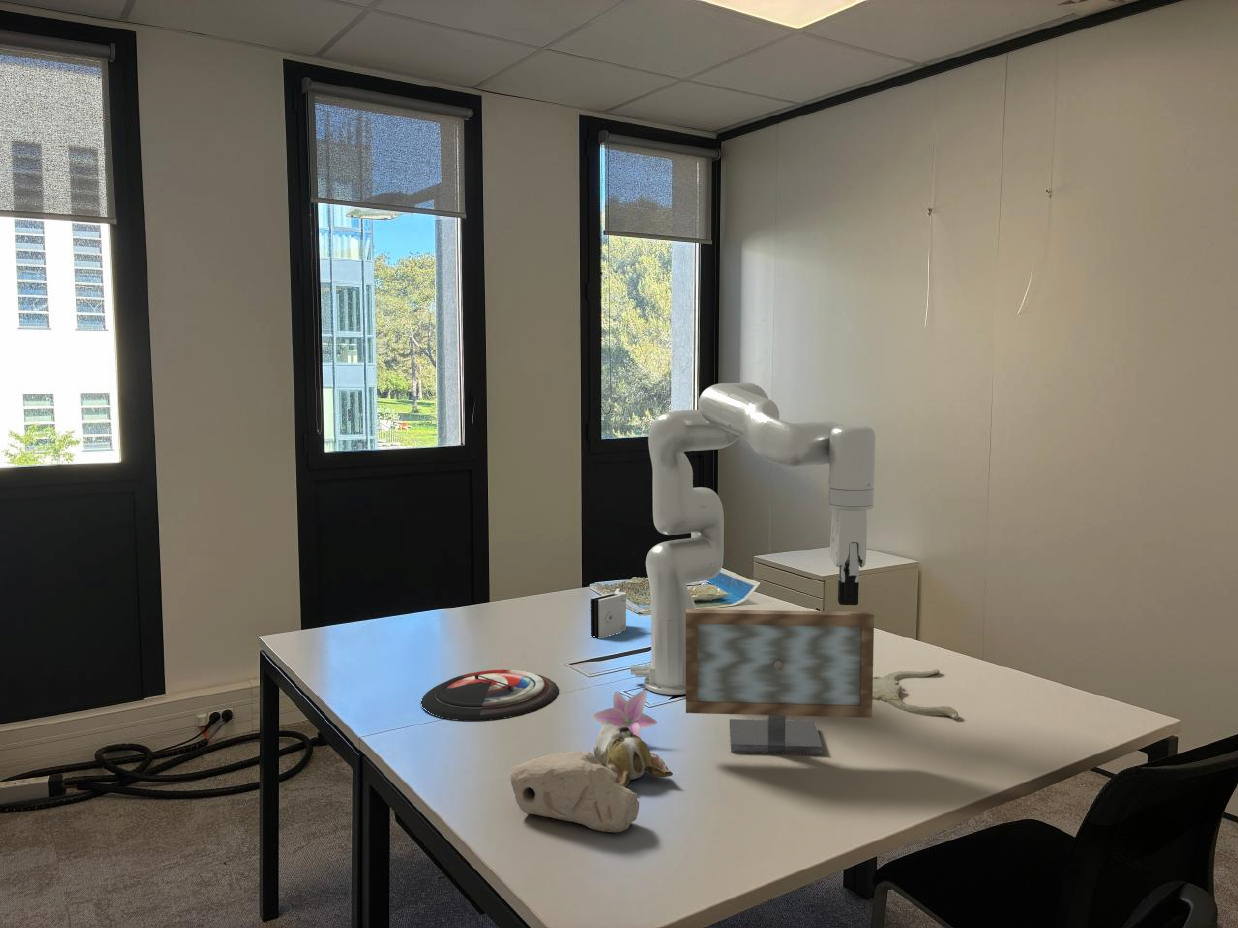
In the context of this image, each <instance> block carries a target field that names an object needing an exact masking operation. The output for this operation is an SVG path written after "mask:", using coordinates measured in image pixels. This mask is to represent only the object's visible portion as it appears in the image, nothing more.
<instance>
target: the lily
mask: <svg viewBox="0 0 1238 928" xmlns="http://www.w3.org/2000/svg"><path fill="white" fill-rule="evenodd" d="M647 698H648V689H647V690H646V689H645V690H642V691H640V692H638V693H636V694H634V695H633V696H631V697H630V698H629V699H628V700H627V699H626V698H625V697H624V696H623V695H622V694H621V693H619V692H618V691H614V694H613V701H612V702H613V704H612V705H613V707H610V708H606V709H602V710H600V711H597V712H595V713H594V714H592V716H591V717H592V718H593V719H594V720H595V721H596V722H598V724H599V723H600V724H601V725H603V724H604V722H605V721H608V722H609V723H611V724H614V725H616V726H619V727H620V728H622V727H628V728H629V729H631V730H632V732H633V734H634V735H636V736H638V737H640V738H641V735H642V734H641V732H642V731H641V729H645V728H649V727H652V726H655V725H656V724H658V721H657V720H656V719H654V718H653V717H651V716H649V715H648V714H645V713H643V712H644V709H645V705H646V702H647Z"/></svg>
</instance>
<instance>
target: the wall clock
mask: <svg viewBox="0 0 1238 928" xmlns="http://www.w3.org/2000/svg"><path fill="white" fill-rule="evenodd" d="M558 694H559V686H558V685H557V683H555V682H554V681H553V680H552V679H550V678H548V677H545V676H543V675H541V674H537V673H533V672H530V671H524V670H518V669H488V670H479V671H475V672H469V673H465V674H462V675H458V676H456V677H453V678H450V679H449V680H446V681H443V682H442V683H440V684H437V685H436V686H434V687H433V688H431V689H430V690H428V691H427V692H426V693H425V694H424V695H423V696H422V697H423V698H422V697H421V699H422V701H421V700H420V702H421V703H420V705H421V704H422V707H423V708H425V709H426V710H427V711H429V712H430V713H432V714H434V715H437V716H440V717H443V718H442V719H444V718H449V719H448V720H450V719H458V720H457V721H460V720H483V721H490V720H489V719H494V720H498V719H497V718H501V719H505V718H504V717H508V718H510V716H512V717H515V715H517V716H520V715H519V714H521V715H524V714H527V713H530V711H531V712H533V711H535V709H536V710H538V709H540V707H541V708H542V707H544V706H545V705H547V704H549V703H551V702H552V701H554V700H555V699H556V698H557V696H558ZM422 707H421V708H422ZM423 708H422V709H423ZM526 712H527V713H526ZM523 713H524V714H523ZM437 716H436V717H437ZM440 717H439V718H440Z"/></svg>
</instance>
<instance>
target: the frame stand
mask: <svg viewBox="0 0 1238 928" xmlns="http://www.w3.org/2000/svg"><path fill="white" fill-rule="evenodd" d="M729 739H730V740H729V742H730V752H731V753H741V754H742V753H744V754H745V753H746V754H779V755H780V754H783V755H807V756H808V755H811V756H822V755H823V744H822V741H821V738H820V735H819V731H818V728H817V724H816V722H815V720H814V721H813V720H812V721H809V720H786V716H779V715H767V719H738V718H737V719H735V718H734V719H733V718H730V719H729Z"/></svg>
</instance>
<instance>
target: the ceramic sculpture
mask: <svg viewBox="0 0 1238 928" xmlns="http://www.w3.org/2000/svg"><path fill="white" fill-rule="evenodd" d="M593 755H594V756H595V757H596V759H598V760H599V761H600V762H601V764H602V765H603V766H604V767H609V768H610V769H611V770H612V771H613V772H614V773H617V774H618V776H617V778H616V782H615V783H617V784H619V785H621V786H623V787H625V788H627V785H628V784H629V783H630V781H632V780H636V779H639V778H641V777H642V776H643V775H645V773H646V772H647V773H648V774H649V775H650V776H652V777H654V778H667V777H672V776H673V775H674V773H673V772H672V771H671V770H670V769H669V768H668V766H667V765H666V762H665V761H664V760H663V759H662V758H661V757H660V755H659V754H656V753H653V752H650V750H649V748H648V746H647V743H646V742H645V741H644V740H643V739H642V738H641V736H640V737H638V736H636V735H634V734H633V732H632V730H631V729H629V728H628V727H622V728H620V727H619V726H616V725H614V724H611V723H609V722H608V721H605V722H604V724H602V727H601V728H600V730H599V733H598V735H597V737H596V741H595V743H594V746H593Z"/></svg>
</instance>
